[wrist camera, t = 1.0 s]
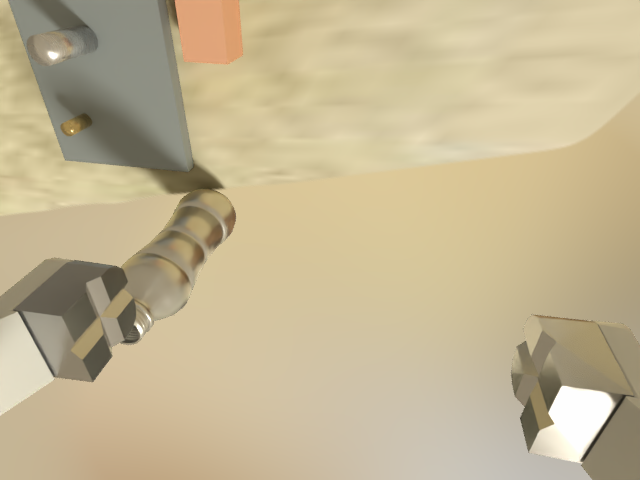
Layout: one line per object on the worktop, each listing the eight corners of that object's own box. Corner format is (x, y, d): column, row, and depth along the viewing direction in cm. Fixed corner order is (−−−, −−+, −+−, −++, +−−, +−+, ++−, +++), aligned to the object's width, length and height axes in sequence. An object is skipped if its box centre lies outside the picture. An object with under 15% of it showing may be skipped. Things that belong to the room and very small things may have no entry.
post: (74, 20, 39) (26, 29, 34) (99, 31, 39) (54, 43, 34) (70, 118, 45) (28, 139, 40) (91, 128, 45) (53, 150, 40)
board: (-7, -80, 37) (-21, -81, 36) (152, -79, 35) (142, -80, 34) (73, 155, 49) (65, 160, 48) (193, 166, 47) (188, 172, 46)
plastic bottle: (185, 176, 48) (70, 291, 32) (242, 188, 48) (154, 309, 32) (189, 223, 52) (87, 346, 36) (241, 234, 51) (162, 364, 35)
